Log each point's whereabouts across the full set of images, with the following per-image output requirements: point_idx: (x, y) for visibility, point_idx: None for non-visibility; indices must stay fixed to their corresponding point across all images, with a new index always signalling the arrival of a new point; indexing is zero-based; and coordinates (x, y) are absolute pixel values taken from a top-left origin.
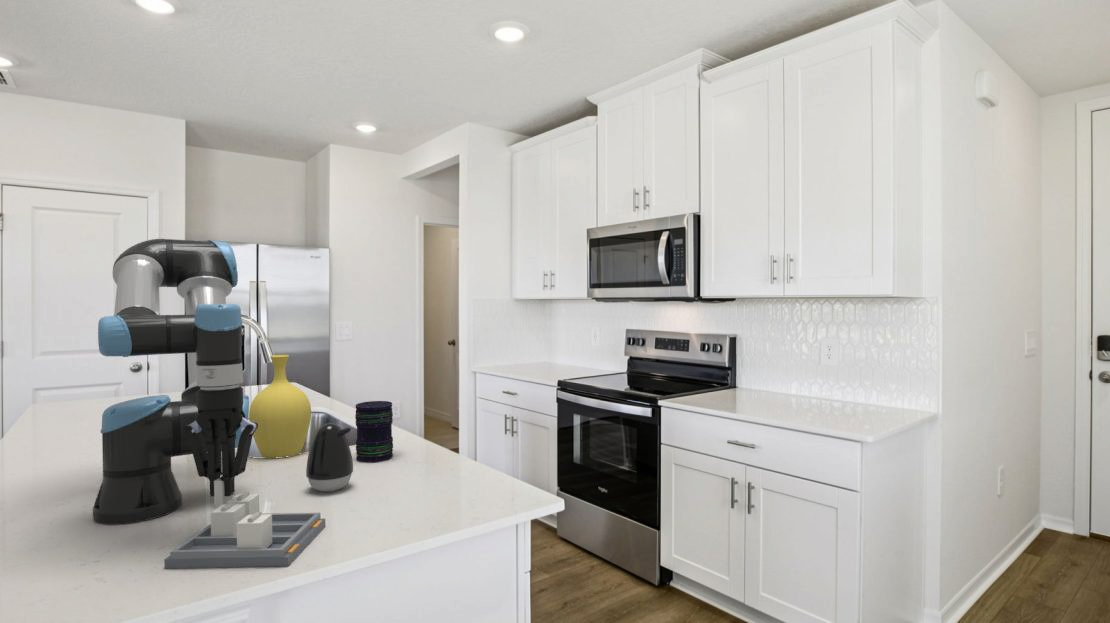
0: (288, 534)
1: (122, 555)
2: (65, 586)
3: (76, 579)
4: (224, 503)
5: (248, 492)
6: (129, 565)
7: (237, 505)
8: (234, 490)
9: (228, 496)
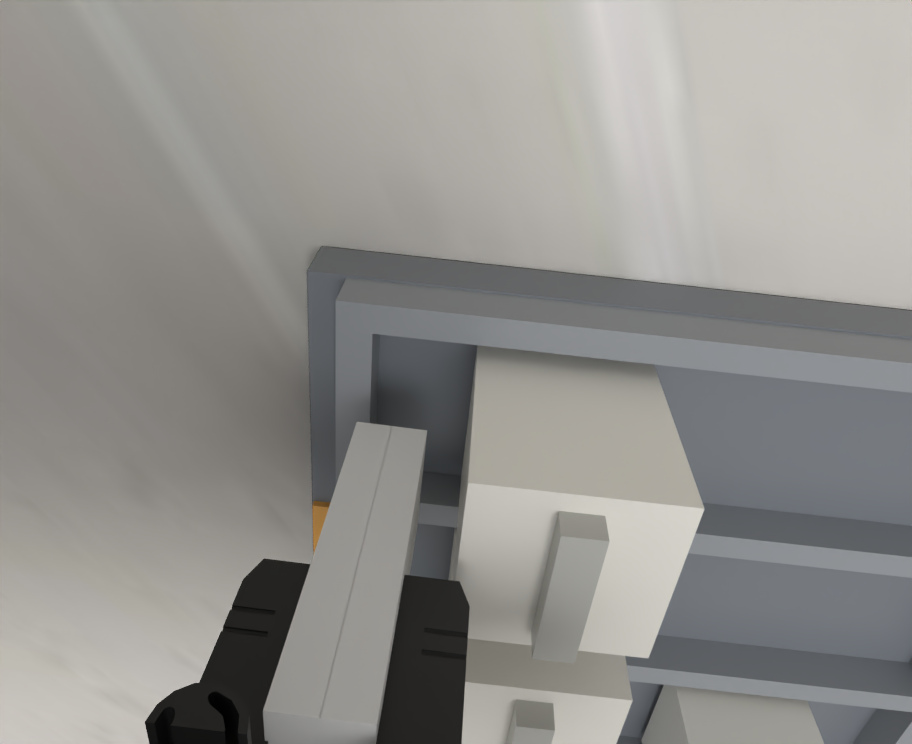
0: (882, 580)
1: (10, 538)
2: (49, 725)
3: (34, 692)
4: (408, 574)
5: (602, 555)
6: (143, 629)
7: (577, 713)
8: (468, 613)
9: (407, 555)
